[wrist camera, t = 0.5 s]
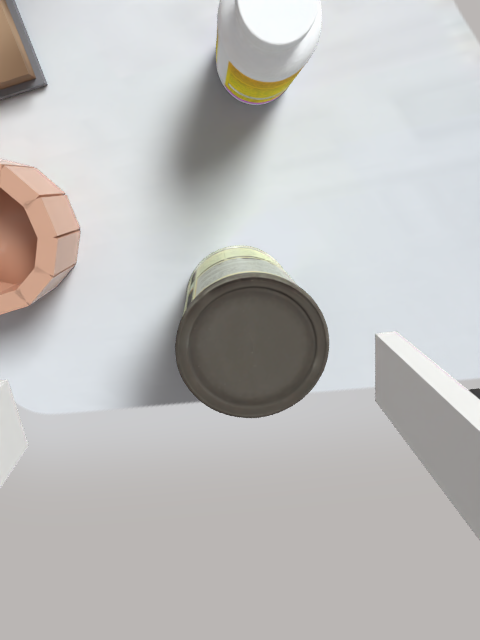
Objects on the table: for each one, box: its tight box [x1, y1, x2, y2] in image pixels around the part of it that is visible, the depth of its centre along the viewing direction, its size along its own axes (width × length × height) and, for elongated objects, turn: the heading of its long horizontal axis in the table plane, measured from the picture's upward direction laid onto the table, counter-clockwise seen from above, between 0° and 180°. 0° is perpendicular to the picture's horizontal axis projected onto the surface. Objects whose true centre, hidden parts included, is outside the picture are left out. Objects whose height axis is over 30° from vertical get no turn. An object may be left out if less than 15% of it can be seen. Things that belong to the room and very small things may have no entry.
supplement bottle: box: [216, 0, 322, 105], centre depth 29 cm, size 7×7×13 cm
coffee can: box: [175, 246, 329, 418], centre depth 35 cm, size 10×10×14 cm
